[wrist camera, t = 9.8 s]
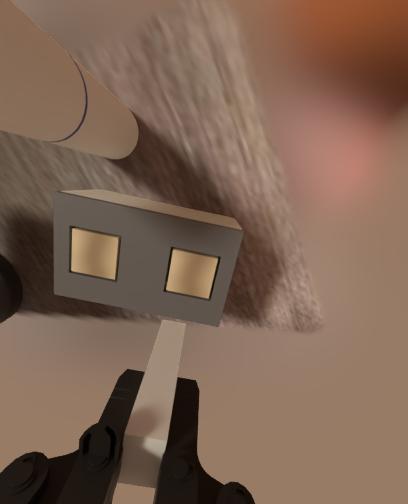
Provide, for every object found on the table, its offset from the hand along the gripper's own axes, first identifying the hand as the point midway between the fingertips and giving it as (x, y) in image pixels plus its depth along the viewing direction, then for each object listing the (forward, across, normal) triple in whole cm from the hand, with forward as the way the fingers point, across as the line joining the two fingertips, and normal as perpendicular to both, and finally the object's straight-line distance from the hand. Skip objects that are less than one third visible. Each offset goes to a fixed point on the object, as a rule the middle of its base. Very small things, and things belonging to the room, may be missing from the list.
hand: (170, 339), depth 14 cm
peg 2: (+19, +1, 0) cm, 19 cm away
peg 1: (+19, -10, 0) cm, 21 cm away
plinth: (+21, -5, 0) cm, 21 cm away
